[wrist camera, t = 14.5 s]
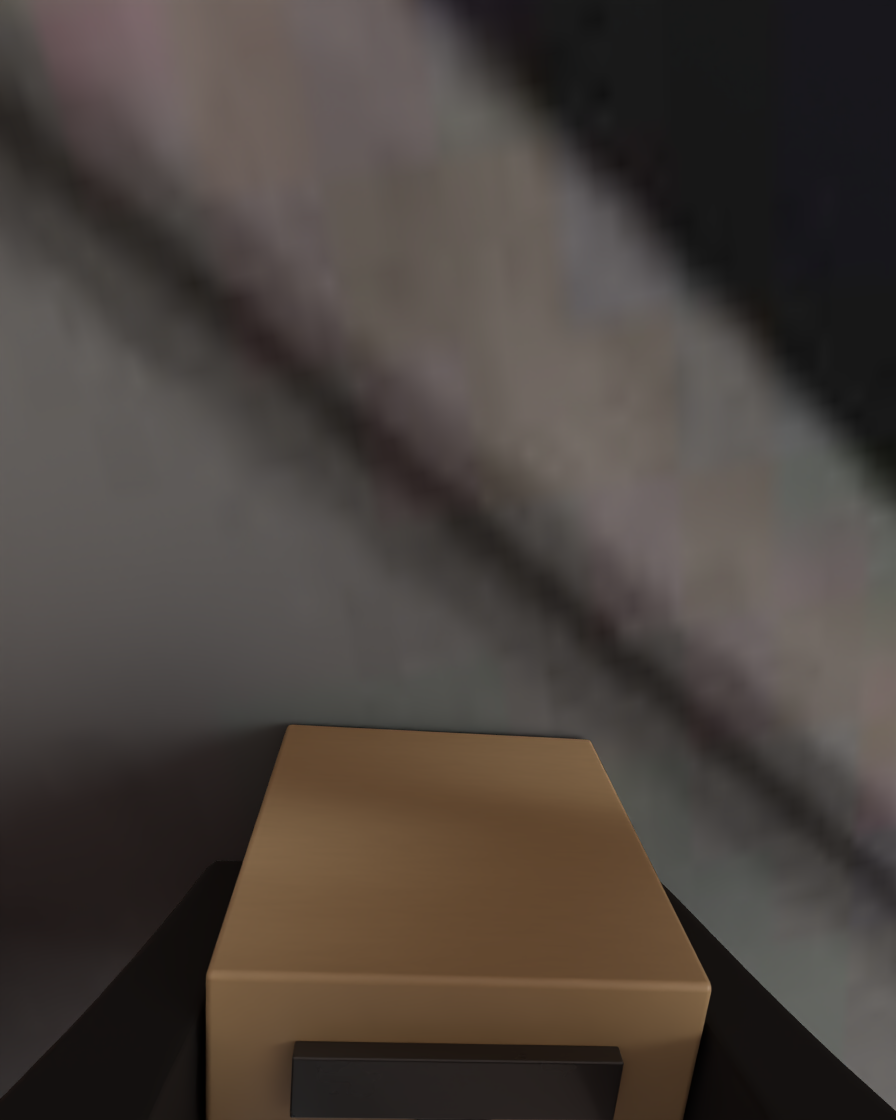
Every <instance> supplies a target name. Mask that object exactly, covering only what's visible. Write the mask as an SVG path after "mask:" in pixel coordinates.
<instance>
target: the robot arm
mask: <svg viewBox="0 0 896 1120" xmlns="http://www.w3.org/2000/svg"><path fill="white" fill-rule="evenodd" d="M242 863H243V861H215V862H214V863H213V864H212V865H210V866H209V867H208V868H207V869H206V870H205V871H204V873H203V874H202V875H201V876H200V878H199V879H198V880H197V882H196V883H195V884H194V885H193V887H192V888H191V889H190V891H189V892H188V893H187V894H186V896H185V897H184V898H183V899H182V901H181V902H180V903H179V904H178V906H177V907H176V908H175V909H174V910H173V912H172V913H171V914H170V915H169V917H168V918H167V919H166V920H165V921H164V923H163V924H162V925H161V926H160V927H159V929H158V930H157V931H156V932H155V933H154V934H153V936H152V937H151V938H150V939H149V940H148V942H147V943H146V944H145V945H144V946H143V947H142V949H141V950H140V951H139V952H138V953H137V954H136V956H135V957H134V958H133V959H132V960H131V961H130V962H129V963H128V965H127V966H126V967H125V968H124V969H123V970H122V971H121V972H120V973H119V975H118V976H117V977H116V978H115V979H114V980H113V981H112V982H111V984H110V985H109V986H108V987H107V988H106V989H105V990H104V991H103V992H102V994H101V995H100V996H99V997H98V998H97V999H96V1000H95V1001H94V1003H93V1004H92V1005H91V1006H90V1007H89V1008H88V1009H87V1010H86V1011H85V1012H84V1014H83V1015H82V1016H81V1017H80V1018H79V1019H78V1020H77V1021H76V1022H75V1023H74V1024H73V1025H72V1026H71V1027H70V1028H69V1030H68V1031H67V1032H66V1033H65V1034H64V1035H63V1036H62V1037H61V1038H60V1039H59V1040H58V1041H57V1042H56V1043H55V1044H54V1045H53V1046H52V1047H51V1048H50V1049H49V1050H48V1051H47V1052H46V1053H45V1054H44V1055H43V1056H42V1057H41V1058H40V1059H39V1060H38V1061H37V1062H36V1063H35V1064H34V1065H33V1066H32V1067H31V1068H30V1069H29V1070H28V1071H27V1072H26V1074H25V1075H24V1076H23V1077H22V1078H21V1079H20V1080H19V1081H18V1082H17V1083H16V1084H15V1085H14V1086H13V1087H12V1088H11V1089H10V1090H9V1091H8V1092H7V1093H6V1094H5V1095H4V1096H3V1097H2V1098H1V1099H0V1120H206V973H207V970H208V967H209V964H210V960H211V957H212V954H213V951H214V948H215V945H216V942H217V939H218V936H219V933H220V930H221V927H222V924H223V921H224V918H225V915H226V912H227V909H228V906H229V903H230V899H231V896H232V893H233V890H234V887H235V884H236V881H237V878H238V875H239V872H240V869H241V866H242ZM661 884H662V883H661ZM662 886H663V889H664V891H665V893H666V895H667V897H668V899H669V901H670V903H671V905H672V907H673V909H674V911H675V913H676V915H677V917H678V919H679V921H680V923H681V925H682V927H683V929H684V931H685V933H686V935H687V937H688V939H689V941H690V943H691V945H692V947H693V949H694V951H695V953H696V955H697V957H698V959H699V961H700V963H701V965H702V967H703V969H704V971H705V973H706V975H707V977H708V979H709V981H710V984H711V995H710V999H709V1004H708V1008H707V1013H706V1017H705V1022H704V1026H703V1031H702V1036H701V1040H700V1045H699V1049H698V1054H697V1058H696V1063H695V1067H694V1072H693V1076H692V1081H691V1085H690V1090H689V1094H688V1099H687V1104H686V1108H685V1113H684V1117H683V1120H896V1111H895V1110H894V1109H893V1108H892V1107H891V1106H889V1105H888V1104H887V1103H886V1102H885V1101H884V1100H883V1099H882V1098H881V1097H879V1096H878V1095H877V1094H876V1093H875V1092H874V1091H873V1090H872V1089H871V1088H870V1087H868V1086H867V1085H866V1084H865V1083H864V1082H863V1081H862V1080H861V1079H860V1078H858V1077H857V1076H856V1075H855V1074H854V1073H853V1072H852V1071H851V1070H850V1069H848V1068H847V1067H846V1066H845V1065H844V1064H843V1063H842V1062H841V1061H840V1060H839V1059H838V1058H837V1057H836V1056H834V1055H833V1054H832V1053H831V1052H830V1051H829V1050H828V1049H827V1048H826V1047H825V1046H824V1045H823V1044H822V1043H821V1042H820V1041H819V1040H818V1039H816V1038H815V1037H814V1036H813V1035H812V1034H811V1033H810V1032H809V1031H808V1030H807V1029H806V1028H805V1027H804V1026H803V1025H802V1024H801V1023H800V1022H799V1021H798V1020H797V1019H796V1018H795V1017H794V1016H793V1015H792V1014H790V1013H789V1012H788V1011H787V1010H786V1009H785V1008H784V1007H783V1006H782V1005H781V1004H780V1003H779V1002H778V1001H777V1000H776V999H775V998H774V997H773V996H772V995H771V994H770V993H769V992H768V991H767V990H766V989H765V988H764V987H763V986H762V985H761V984H760V983H759V982H758V981H757V980H756V979H755V978H754V977H753V976H752V975H751V974H750V973H749V972H748V971H747V970H746V969H745V968H744V967H743V966H742V965H741V964H740V963H739V962H738V961H737V960H736V958H735V957H734V956H733V955H732V954H731V953H730V952H729V951H728V950H727V949H726V948H725V947H724V946H723V945H722V944H721V943H720V942H719V941H718V940H717V939H716V938H715V937H714V936H713V935H712V934H711V933H710V932H709V931H708V930H707V929H706V928H705V927H704V926H703V925H702V924H701V922H700V921H699V920H698V919H697V918H696V917H695V916H694V915H693V914H692V913H691V912H690V911H689V910H688V909H687V908H686V907H685V906H684V905H683V904H682V903H681V902H680V901H679V900H678V899H677V898H676V897H675V896H674V895H673V894H672V893H671V892H670V891H669V890H668V889H667V888H666V887H665V886H664V885H663V884H662Z"/></svg>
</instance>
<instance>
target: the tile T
mask: <svg viewBox="0 0 896 1120" xmlns="http://www.w3.org/2000/svg"><path fill="white" fill-rule="evenodd" d="M710 995H711V984H710V981H709V979H708V977H707V975H706V973H705V971H704V969H703V967H702V965H701V963H700V961H699V959H698V957H697V955H696V953H695V951H694V949H693V947H692V945H691V943H690V941H689V939H688V937H687V935H686V933H685V931H684V929H683V927H682V925H681V923H680V921H679V919H678V917H677V915H676V913H675V911H674V909H673V907H672V905H671V903H670V901H669V899H668V897H667V895H666V893H665V891H664V889H663V886H662V884H661V882H660V880H659V878H658V876H657V874H656V872H655V870H654V868H653V866H652V864H651V862H650V860H649V858H648V856H647V854H646V852H645V850H644V848H643V846H642V844H641V842H640V840H639V838H638V836H637V834H636V832H635V830H634V828H633V826H632V824H631V822H630V820H629V818H628V816H627V814H626V812H625V810H624V808H623V806H622V804H621V802H620V800H619V798H618V796H617V794H616V792H615V790H614V788H613V786H612V784H611V782H610V780H609V778H608V775H607V773H606V771H605V769H604V767H603V765H602V763H601V761H600V759H599V757H598V755H597V753H596V751H595V749H594V747H593V745H592V743H591V741H589V740H586V739H566V738H546V737H527V736H507V735H487V734H467V733H448V732H428V731H408V730H388V729H369V728H349V727H329V726H309V725H289V726H288V727H287V729H286V732H285V735H284V738H283V741H282V744H281V747H280V750H279V753H278V756H277V759H276V762H275V765H274V768H273V771H272V774H271V778H270V781H269V784H268V787H267V790H266V793H265V796H264V799H263V802H262V805H261V808H260V811H259V814H258V817H257V820H256V823H255V826H254V829H253V832H252V835H251V839H250V842H249V845H248V848H247V851H246V854H245V857H244V860H243V863H242V866H241V869H240V872H239V875H238V878H237V881H236V884H235V887H234V890H233V893H232V896H231V899H230V903H229V906H228V909H227V912H226V915H225V918H224V921H223V924H222V927H221V930H220V933H219V936H218V939H217V942H216V945H215V948H214V951H213V954H212V957H211V960H210V964H209V967H208V970H207V973H206V1120H683V1117H684V1113H685V1108H686V1104H687V1099H688V1094H689V1090H690V1085H691V1081H692V1076H693V1072H694V1067H695V1063H696V1058H697V1054H698V1049H699V1045H700V1040H701V1036H702V1031H703V1026H704V1022H705V1017H706V1013H707V1008H708V1004H709V999H710Z"/></svg>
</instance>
